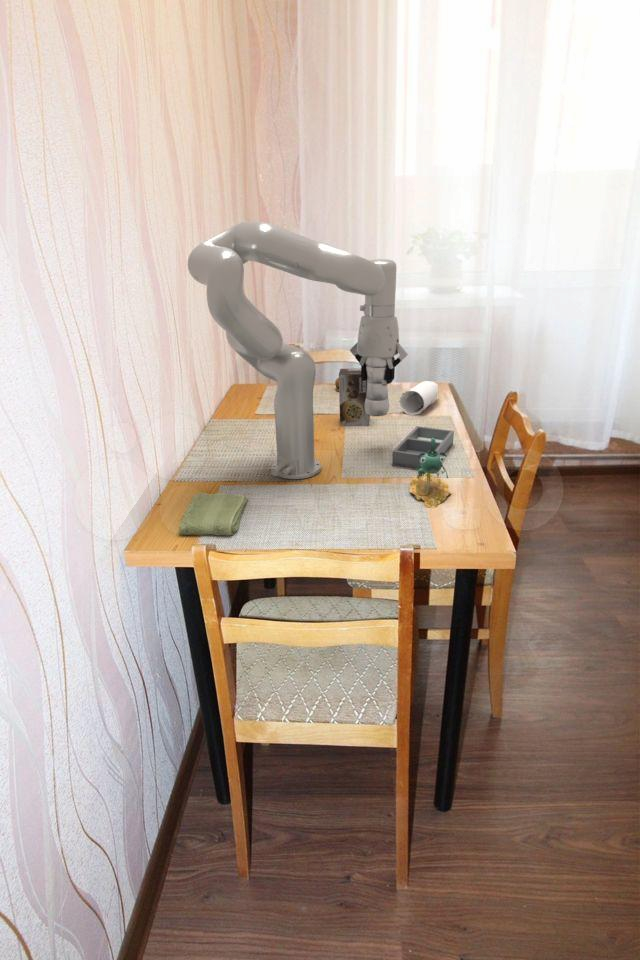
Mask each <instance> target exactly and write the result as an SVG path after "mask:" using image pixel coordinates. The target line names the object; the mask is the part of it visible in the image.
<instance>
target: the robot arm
mask: <svg viewBox="0 0 640 960" xmlns="http://www.w3.org/2000/svg"><path fill="white" fill-rule="evenodd" d="M248 262H254V263H255V262H256V263H259V264H262V265H265V266H268V267H270V268H274V269H276V270H279V271H282V272H285V273H288V274H291V275H294V276H296V277H298V278H303V279H306V280H310V281H313V282H314V281H315V282H320V283H326V284H331V285H334V286H335V285H336V287H337V288H338V289H340V290H341V291H344V292H346V293H351V294H357V295H362V296H364V304H363V305H360V306H359V311H361V312H363V315H362V316H361V318H360V321H359V327H358V335H357V342H356V343H355V344H354V345H353V346H352V347H351V348H350V350H349V351H350V353H351V354H352V355H353V357H355V360H356V361H357V362H358V364H359V366H360V369H361V377H362V381H365V380H367V372H366V362H365V361H366V358H367V357H377V358H385V359H386V360H387V363H388V369H387V375H386V383H387V384H388V385H390V384H391V383H393V381H394V380H395V375H396V374H395V373H396V372H395V370H396V369H395V368H396V367H397V366H398V365H399V364H400V363H401V362H402V361H403V360H405V359H406V358H407V357H408V352H407V351H406V350H405V349H404V347H403V346H402V345H401V343H400V334H399V333H400V332H399V330H400V329H399V322H398V318H397V317H398V316H395V314H396V313H395V312H396V289H397V264H396V262H395V261H394V260H392V259H387V258H382V259H381V258H378V259H371V260H369V259H366V258H364V257H362V256H359V255H357V254H354V253H351V252H348V251H345V250H342V249H340V248H339V249H338V248H335V247H333V246H331V245H328V244H326V243H323V242H320V241H317V240H314V239H311V238H308V237H306V236H304V235H301V234H299V233H296V232H293V231H292V230H289V229H286V228H283V227H281V226H278V225H276V224H273V223H271V222H266V221H254V220H245V221H241V222H239V223H236V224H234V225H232V226H231V227H229V228H227V229H225V230H224V231H222V232H220V233H219V234H217V235H214V236H213V237H211V238H209V239H207V240H205V241H203V242H201V243H200V244H198V245H196V246H195V247H194V248H193V249H192V250H191V252H190V254H189V255H188V259H187V270H188V272H189V274H190V276H191V277H192V278H193V280H195V281H196V282H197V283H200V284H202V285H205V286H206V301H207V307H208V310H209V311H208V312H209V313H210V316H211V317H212V319H213V320H214V322H215V323H216V324H217V325H218V326H219V327H221V329H222V330H224V331H225V335H226V339H227V342H228V344H229V346H230V347H231V348H232V350H234V352H235V353H236V354H237V355H239V356H240V358H242V359H243V360H245V361H246V362H247V363H248V364H249V365H250V366H251V367H252V368H254V369H255V370H257V372H259V373H260V374H261V375H263V376H264V377H266V378H267V379H270V380H272V381H274V382H276V383H277V387H276V389H275V390H276V391H275V395H274V401H273V404H274V405H273V406H274V407H273V409H274V422H275V425H274V426H275V438H276V439H275V441H276V457H277V458H276V461H275V462H273V463H272V464H271V468H270V469H271V470H270V474H271V475H272V476H273V477H275V476H276V477H279V478H282V479H285V480H303V479H307V478H311V477H314V476H316V475H318V474H319V473H320V472H321V470H322V464H321V462H320V461H319V460H318V459H316V457H315V429H314V428H315V421H314V387H315V380H316V372H317V369H316V368H317V366H316V363H315V360H314V359H313V357H312V355H311V354H310V353H309V352H307V351H306V350H304V349H303V348H300V347H298V346H295V345H293V344H289V343H286V342H284V340H283V339H284V338H283V335H282V333H281V331H280V330H279V327H278V326H277V325H275V323H273V322H272V321H271V320H270V319H269V318H267V316H266V315H265V314H263V313H262V312H261V311H260V310H259V309H258V308H257V307H256V306H255V305H254V304H253V302H251V300H249V299H248V297H247V296H246V294H245V290H244V279H245V276H244V275H245V267H244V264H246V263H248ZM398 354H399V356H398V357H397V358H395V356H396V355H398Z"/></svg>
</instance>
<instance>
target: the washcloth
mask: <svg viewBox="0 0 640 960" xmlns="http://www.w3.org/2000/svg"><path fill="white" fill-rule="evenodd" d="M247 501H249V498H248V497H247V496H245V495H243V494H230V493H223V492H215V493H206V492H199V493H196V494H195V496H194V497H192V498H191V500H190V503H189V505H188V506H187V508H186V510H185V511H184V514H183V515H182V517H181V519H180V523H179V526H178V532H179V534H180V535H183V536H184V535H185V536H186V535H187V536H188V535H194V536H203V535H215V536H219V535H220V536H225V537H226V536H227V537H228V536H229V537H230V536H232V535H234V534H235V533H236V532H237V531H238V529H239V527H240V521H241V517H242V514H243V513H244V509H245V505H246V503H247Z"/></svg>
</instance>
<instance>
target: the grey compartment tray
mask: <svg viewBox="0 0 640 960" xmlns="http://www.w3.org/2000/svg"><path fill="white" fill-rule="evenodd" d="M454 435H455V430H450V429H444V428H443V429H442V428H436V427H427V426H418V425H416V426H415V427H414V428H413V429H412V431H410V432H409V434H408V435H407V436H405V437H404V439H403V440H402V441H401V442H400V443H399V444H397V446H396V447H395V448H394V449H393V450H392V454H391V455H392V456H391V457H392V461H391V465H392V467H398V468H399V467H400V468H403V469H410V470H416V471H417V467H418V462H419V465H420V464H421V463H420V461H419V460H420V458H421V457H423V456H424V455H422V456H420V457H419V458H418V456H419V455H420V454H421V453H424V454H425V455H426V454H427V450H429V451H430V450H431V439H432V438H435V451H437V453H438V455H439V456H444V455H440V453H441V452H443V453H445V454H446V455H447V453H448V452H449V451H450V449H452V447H453V445H454V438H455V437H454ZM444 457H445V456H444ZM421 467H422V466H421V465H420V466H419V469H420V468H421Z"/></svg>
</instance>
